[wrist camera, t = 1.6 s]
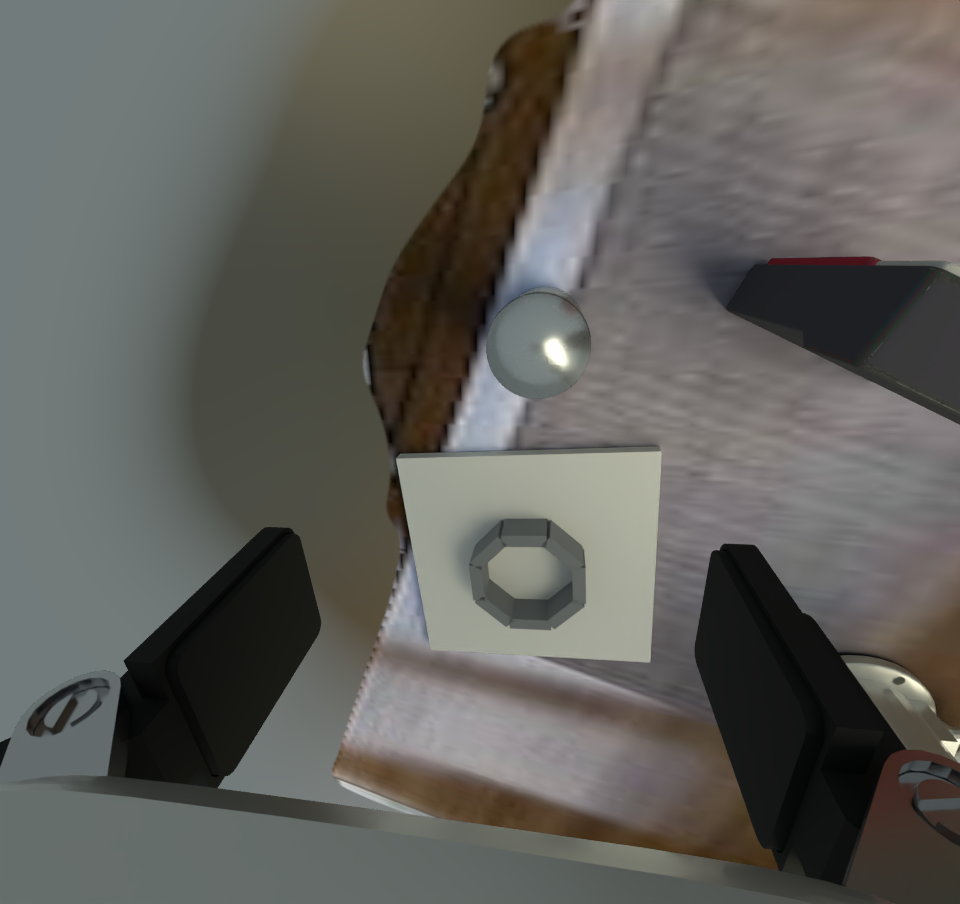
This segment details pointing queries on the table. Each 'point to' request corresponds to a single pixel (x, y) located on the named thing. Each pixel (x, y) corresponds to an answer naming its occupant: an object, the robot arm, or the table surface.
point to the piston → (539, 343)
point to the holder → (536, 549)
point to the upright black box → (867, 319)
